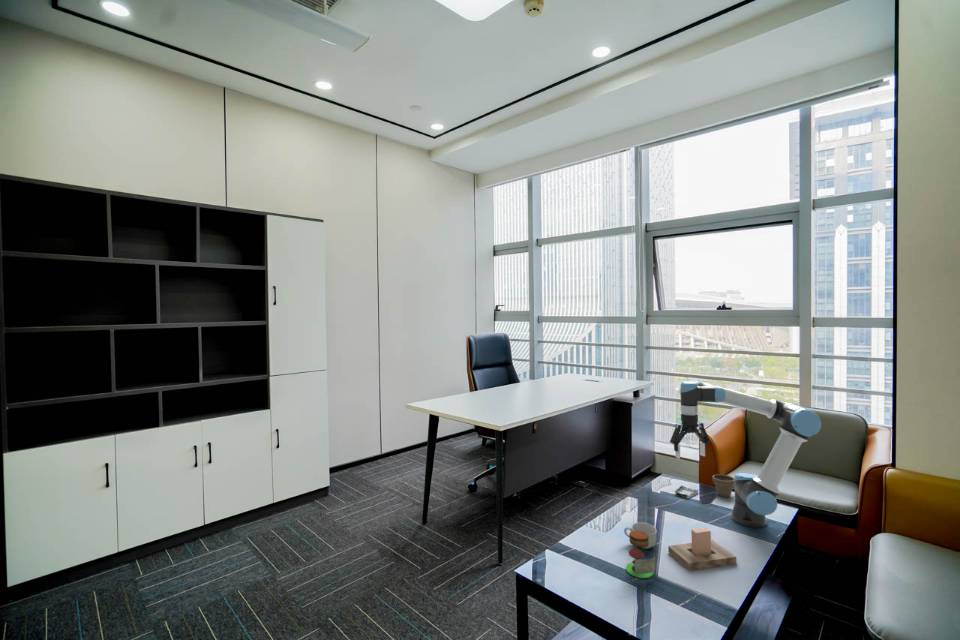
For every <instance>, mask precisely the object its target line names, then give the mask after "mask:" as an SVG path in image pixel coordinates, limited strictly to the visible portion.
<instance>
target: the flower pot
mask: <svg viewBox="0 0 960 640" xmlns="http://www.w3.org/2000/svg"><path fill="white" fill-rule="evenodd" d="M712 482H713V483H714V485H715V490H716V492H717V496H719V497H723V498H729V497H731V495H732V493H733V487H734V477H733V476H730V475H726V474H714V475H712Z"/></svg>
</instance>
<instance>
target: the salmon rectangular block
mask: <svg viewBox="0 0 960 640" xmlns="http://www.w3.org/2000/svg"><path fill="white" fill-rule="evenodd" d="M690 532H691V543H692V554H693V555H695V556H702V555H710V554H711V540H712V532H711V530H710V529H708V528H707V527H702V528H693V529H691V531H690Z"/></svg>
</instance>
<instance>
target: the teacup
mask: <svg viewBox="0 0 960 640" xmlns="http://www.w3.org/2000/svg"><path fill="white" fill-rule="evenodd" d="M627 530H628V531H630V532H631V531H635V530H638V531H643V532H645V533H647V534H648V539H649V545H648V546H647V547H640V548H641V549H647V550H648V549H651V548H653V547H655V545H656V544H657V532H658V530H657V528H656V527H655V526H654V525H652V524H650V523H647V522H635V523H633V524H631V526H626V527H624V529H623V532H624V534H625V536H626V537H627V538H629V539H630V536H629V534H630V533H627Z"/></svg>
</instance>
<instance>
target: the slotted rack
mask: <svg viewBox="0 0 960 640" xmlns="http://www.w3.org/2000/svg"><path fill="white" fill-rule="evenodd" d="M668 552H669V553H670V554H669V555H670V556H671V557H673V558H674V559H675V560H676V561H677V560H678V561H677V562H678V563H680V564H681V565H682V566H683V567H684V568H686V569H687V570H688V571H689V572H690V571H698V570H704V569H705V570H706V569H711V568H718V567H724V566H725V567H726V566H732V565H737V564H738V563H737V556H736V555H735V554H733V553H732V552H730V551H729V550H727V549H726V548H724V547H723V546H722V545H720V544H719V543H718V542H716V541H714V539H713V540H712V539H711V554H710V555H702V556H695V555H693V554H692V542H687V543H681V544H679V543H678V544H674V545H668Z"/></svg>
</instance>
